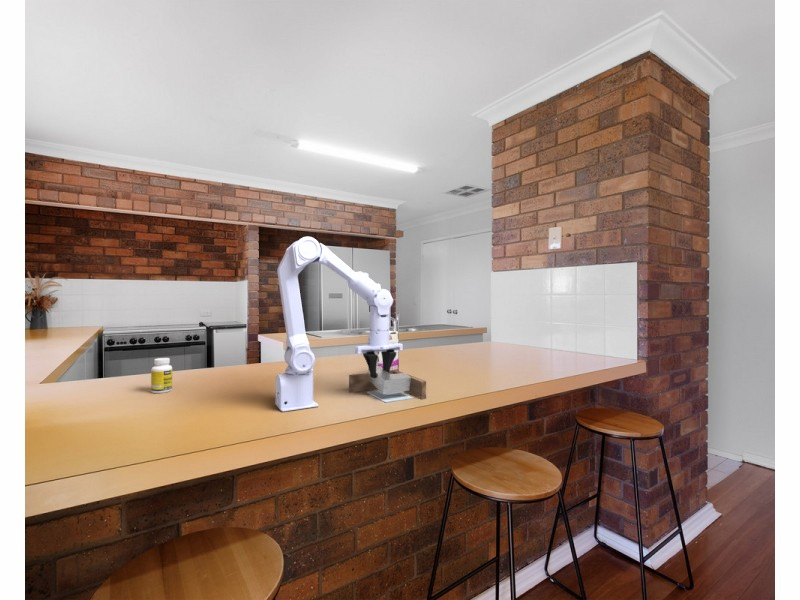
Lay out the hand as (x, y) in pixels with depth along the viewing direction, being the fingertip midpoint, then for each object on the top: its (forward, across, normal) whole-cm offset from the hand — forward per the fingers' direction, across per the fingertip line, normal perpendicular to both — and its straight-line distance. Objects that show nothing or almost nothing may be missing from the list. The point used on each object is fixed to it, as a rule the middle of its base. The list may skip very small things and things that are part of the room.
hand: (379, 376), depth 112 cm
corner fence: (+6, +1, 0) cm, 6 cm away
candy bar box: (+6, +10, +16) cm, 20 cm away
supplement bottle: (+6, -55, +36) cm, 66 cm away
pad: (+6, +2, -2) cm, 6 cm away
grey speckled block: (+3, +2, -1) cm, 4 cm away
